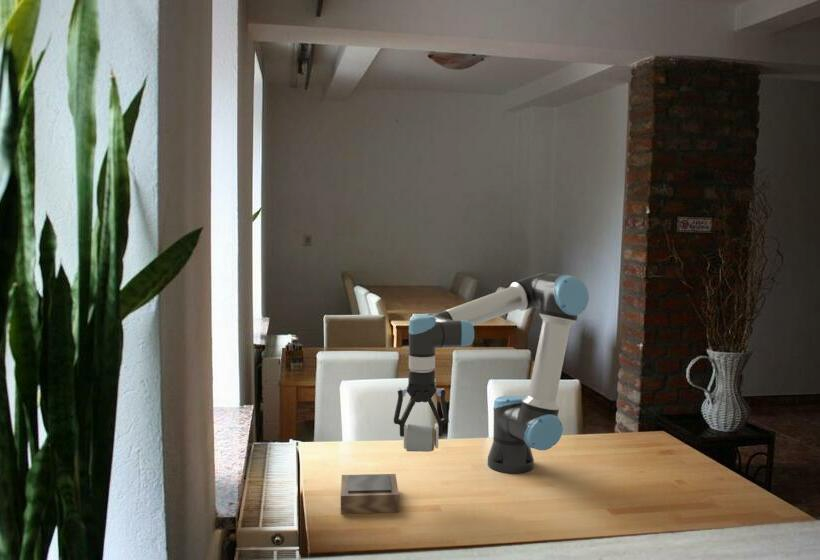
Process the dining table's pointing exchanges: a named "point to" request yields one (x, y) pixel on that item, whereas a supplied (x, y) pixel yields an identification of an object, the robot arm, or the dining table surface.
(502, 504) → the dining table surface
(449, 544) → the dining table surface
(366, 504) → the walnut base
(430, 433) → the ceramic mug
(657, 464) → the dining table surface
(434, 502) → the dining table surface
